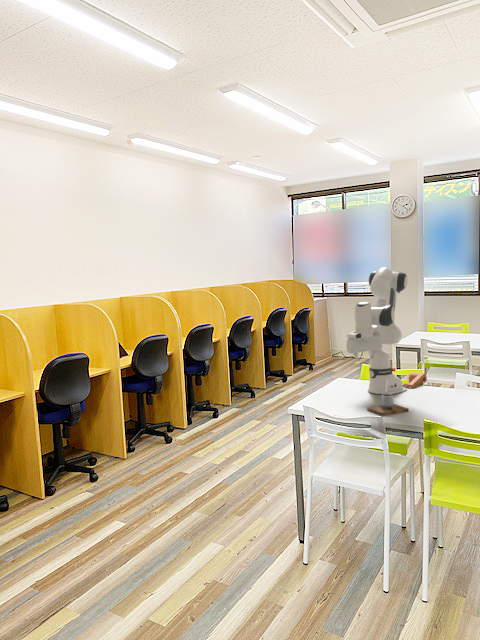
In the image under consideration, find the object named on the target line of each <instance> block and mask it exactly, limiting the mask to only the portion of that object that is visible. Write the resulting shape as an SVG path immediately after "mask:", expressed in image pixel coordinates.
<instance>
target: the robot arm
mask: <svg viewBox="0 0 480 640" xmlns="http://www.w3.org/2000/svg"><path fill="white" fill-rule="evenodd" d="M368 285H369V288H370V289H369V290H370V292H371V294H372V295H373V296H374V297H375V298H377V300H376V303H375V307H374V306H372V304H371V303H370V302H368V301H360V302H358V303H356V304H355V307H354V321H355V327H354V328H355V329H354V330H353V331H351V332H349V333H347V334H346V338H347V340H346V351H347V353H348V354H352V355H353V356H354V358H355V360H354V361H356V362H359V361H360V360H361V359H360V357H359V356H358V355H359V353H363V352H368V357H369V368H368V369H369V383H368V389H367V392H369V393H370V394H379V395H383V394H391V395H394V394H398V393H402V392H406V390H408V388H407V387H406V386H405V387H403V382H402V380H401V378H400V377H398V376H396V375H395V374H394V373H393V372H396V371H397V369H396V367H390V363H391V362H390V354H389V353H388V352H387V351H386V350H384V349H383V345H395V344H396V345H397V344H398V343H399V342H401V339H402V335H403V334H402V331H401V329H400V328H399V327H398V326H397V325H396V323H395V310H396V305H397V294H400V293H401V292H402V291H404V290H405V289H406V287H407V285H408V276H407V273H404V272H403V271H402V272H401V271H399V272H398V271H395V270H394V271H393V270H392V269H390V268H388V267H381V268H379V269H378V270H374V271H372V272H370V273H369V277H368Z"/></svg>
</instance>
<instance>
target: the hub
mask: <svg viewBox="0 0 480 640" xmlns="http://www.w3.org/2000/svg"><path fill="white" fill-rule="evenodd" d="M380 396H381V397H380V399H381V404H380V405H382V406H388V407H390V406H393V404H394V394H380Z"/></svg>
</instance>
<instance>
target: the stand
mask: <svg viewBox="0 0 480 640" xmlns="http://www.w3.org/2000/svg"><path fill="white" fill-rule="evenodd" d="M366 409H367V411H369V412H371V413H373V414H375V415H376V414H377V415H379V416H381V415H383V416H384V417H385V416H389V415H395V414H403V413H407V412H409V408H408V407H405V406H402V405H399V404H396V403H393V406H390V407H388V406H382V405H381V404H380V405H373V406H368V407H367V408H366ZM383 416H382V417H383Z"/></svg>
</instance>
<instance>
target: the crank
mask: <svg viewBox="0 0 480 640" xmlns="http://www.w3.org/2000/svg"><path fill="white" fill-rule="evenodd" d="M427 378H428V377H427V374H426V373H420V372H413V371H412V372H410V373H409V376H408V382H409V383H402V385H403V387H404V386H405V388H407V387H411V388H410V389H414V388H416V387H418V386H420V385H422V384H423V383H426V382H427V381H428V379H427ZM415 386H416V387H415ZM413 387H414V388H413Z"/></svg>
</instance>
